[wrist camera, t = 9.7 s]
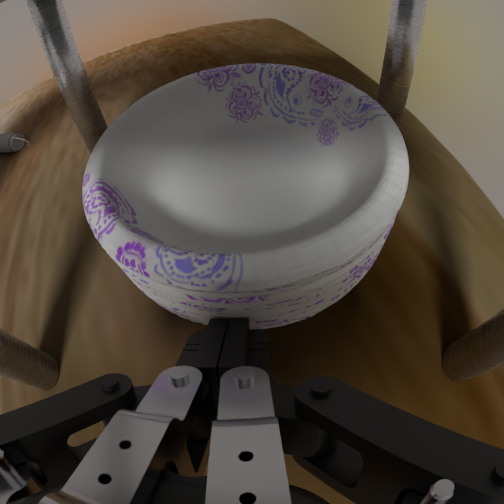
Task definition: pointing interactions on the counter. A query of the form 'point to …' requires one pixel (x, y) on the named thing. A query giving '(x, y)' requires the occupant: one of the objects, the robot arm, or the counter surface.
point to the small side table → (93, 126)
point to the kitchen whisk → (12, 142)
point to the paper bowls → (247, 192)
